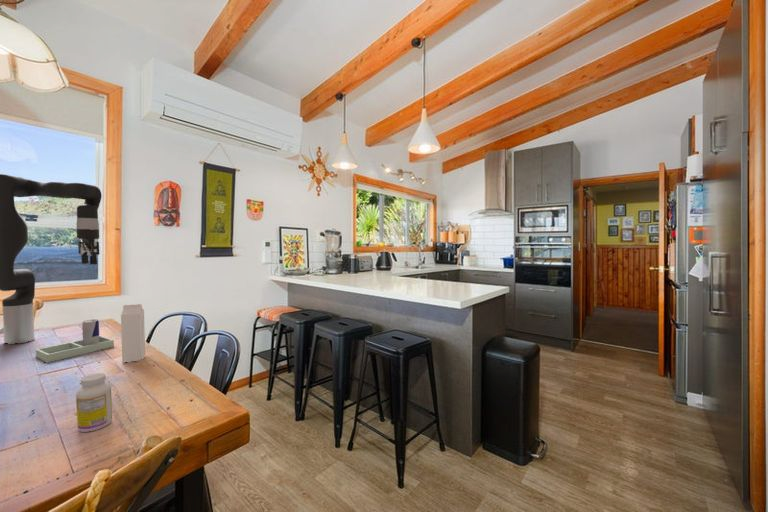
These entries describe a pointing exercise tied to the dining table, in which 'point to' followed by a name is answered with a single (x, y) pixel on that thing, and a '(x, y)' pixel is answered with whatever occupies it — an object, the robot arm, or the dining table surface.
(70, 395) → the dining table surface
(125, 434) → the dining table surface
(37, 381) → the dining table surface
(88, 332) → the energy drink
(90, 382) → the supplement bottle
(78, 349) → the caddy
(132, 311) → the milk
